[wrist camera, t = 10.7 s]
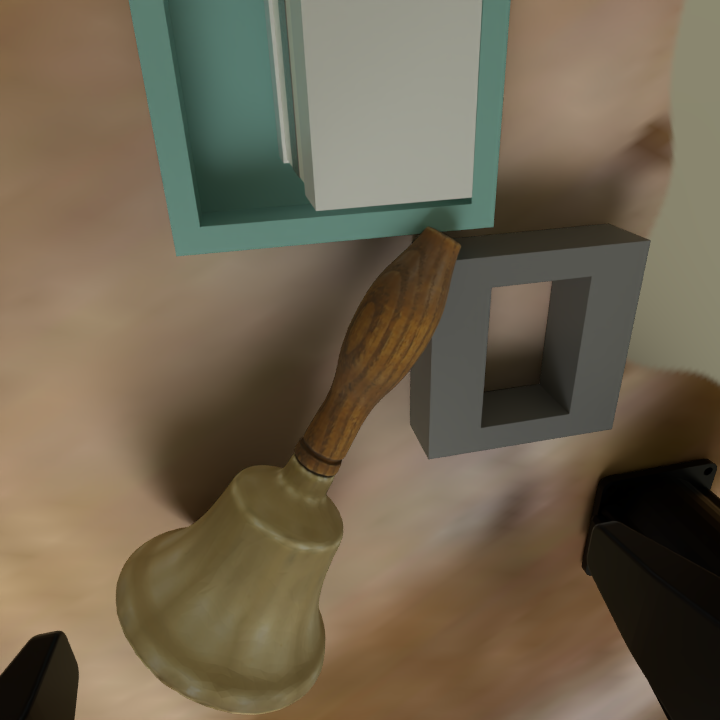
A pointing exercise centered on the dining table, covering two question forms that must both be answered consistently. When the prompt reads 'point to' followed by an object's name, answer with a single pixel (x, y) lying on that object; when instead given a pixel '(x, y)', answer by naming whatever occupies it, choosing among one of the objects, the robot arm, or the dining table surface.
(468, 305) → the socket block
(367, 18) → the block
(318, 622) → the hand bell
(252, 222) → the parts tray
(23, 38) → the dining table surface
